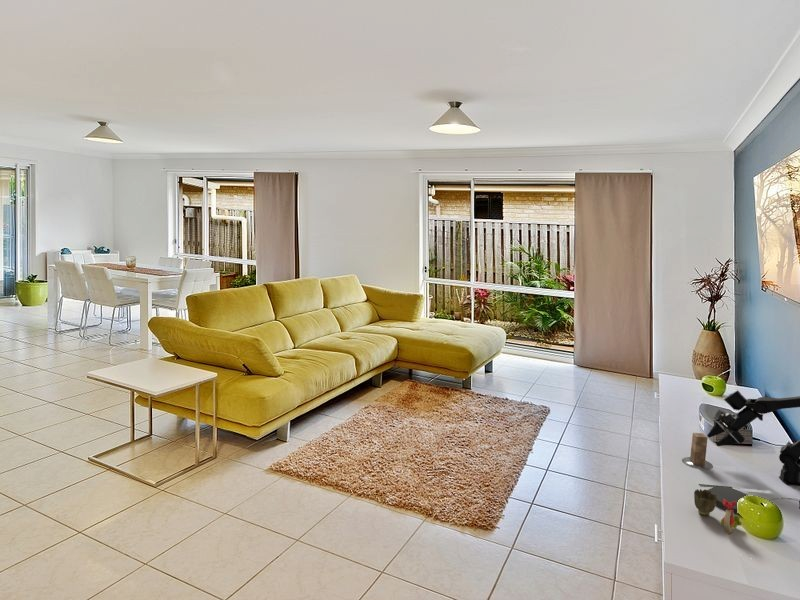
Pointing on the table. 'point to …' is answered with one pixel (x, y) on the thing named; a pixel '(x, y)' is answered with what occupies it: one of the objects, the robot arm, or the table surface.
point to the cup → (704, 501)
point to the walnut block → (698, 449)
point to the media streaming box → (726, 496)
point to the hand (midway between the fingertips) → (712, 440)
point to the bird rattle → (730, 517)
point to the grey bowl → (689, 463)
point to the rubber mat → (712, 486)
